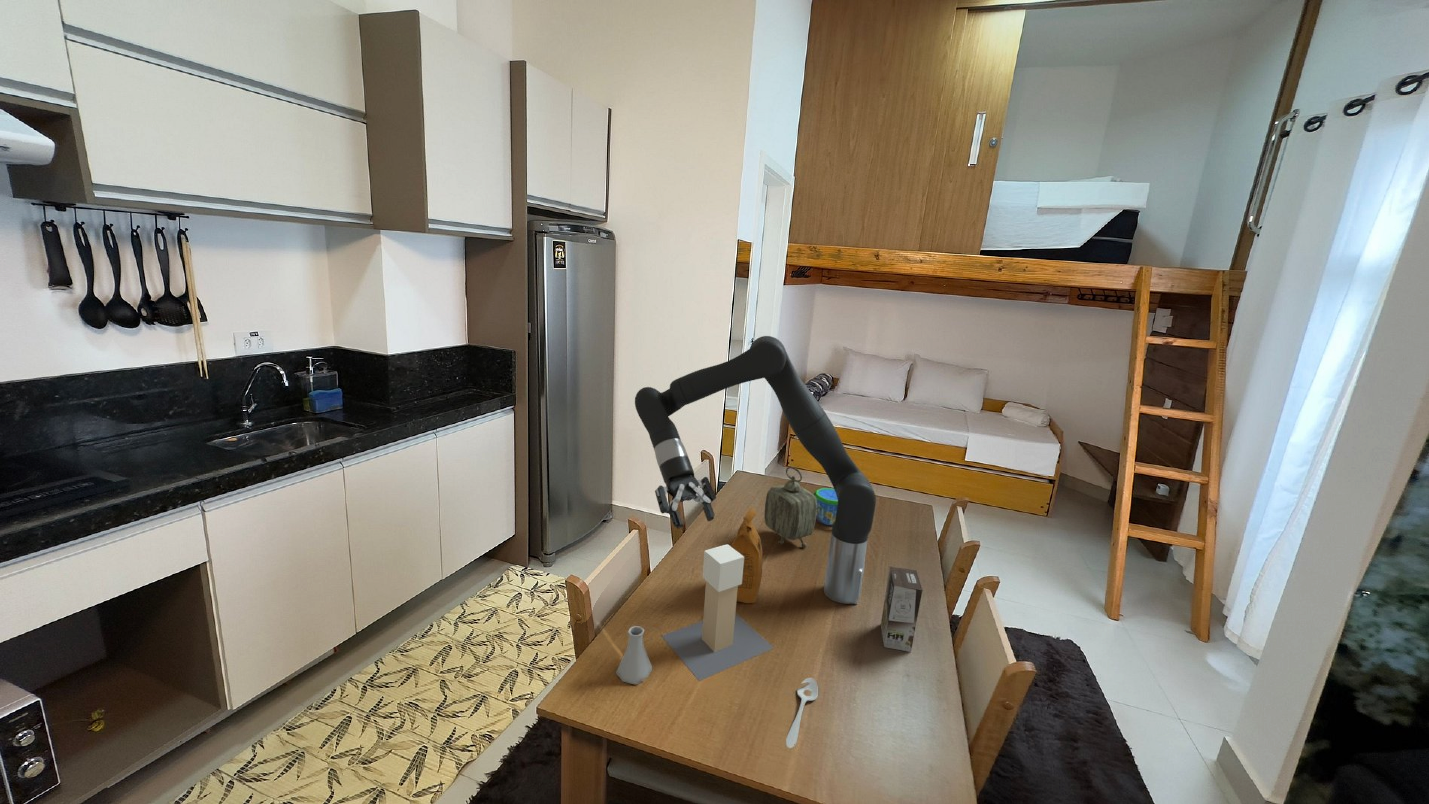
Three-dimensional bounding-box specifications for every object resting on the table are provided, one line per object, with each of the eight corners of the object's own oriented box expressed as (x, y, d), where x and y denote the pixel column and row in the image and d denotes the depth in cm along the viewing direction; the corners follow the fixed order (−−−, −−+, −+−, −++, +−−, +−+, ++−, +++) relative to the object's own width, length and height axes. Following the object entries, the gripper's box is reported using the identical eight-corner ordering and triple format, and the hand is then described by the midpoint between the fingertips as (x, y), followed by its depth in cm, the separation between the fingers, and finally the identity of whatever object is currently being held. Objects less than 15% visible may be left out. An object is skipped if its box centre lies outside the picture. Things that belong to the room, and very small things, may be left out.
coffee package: (764, 583, 151) (771, 508, 145) (756, 609, 139) (764, 529, 134) (728, 576, 153) (734, 502, 147) (718, 601, 141) (724, 522, 136)
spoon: (820, 686, 115) (821, 680, 115) (796, 765, 97) (797, 757, 96) (801, 680, 117) (802, 673, 116) (773, 756, 98) (774, 748, 98)
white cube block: (725, 570, 126) (727, 544, 124) (741, 584, 121) (744, 556, 119) (702, 577, 122) (704, 550, 120) (718, 591, 117) (720, 564, 116)
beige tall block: (719, 632, 129) (724, 570, 125) (732, 644, 125) (738, 581, 121) (701, 639, 126) (706, 576, 122) (714, 652, 122) (719, 587, 118)
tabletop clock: (812, 549, 170) (821, 473, 164) (790, 556, 165) (798, 478, 159) (781, 529, 182) (789, 458, 176) (759, 535, 177) (766, 462, 171)
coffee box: (912, 653, 127) (923, 590, 123) (883, 647, 128) (893, 585, 124) (907, 628, 136) (917, 569, 132) (880, 623, 137) (889, 565, 133)
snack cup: (855, 528, 186) (859, 501, 184) (830, 534, 181) (834, 505, 179) (825, 509, 199) (829, 483, 197) (802, 514, 194) (805, 487, 192)
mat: (731, 611, 137) (732, 609, 137) (773, 650, 125) (773, 648, 124) (661, 638, 126) (661, 635, 126) (699, 683, 113) (699, 680, 113)
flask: (636, 690, 110) (638, 647, 108) (609, 674, 114) (610, 632, 112) (659, 669, 116) (661, 628, 114) (632, 655, 120) (634, 615, 118)
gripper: (653, 458, 128) (676, 524, 122) (704, 450, 136) (728, 511, 130) (641, 472, 134) (663, 536, 128) (691, 463, 142) (714, 523, 136)
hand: (696, 523), depth 129 cm, fingers open, 8 cm apart
